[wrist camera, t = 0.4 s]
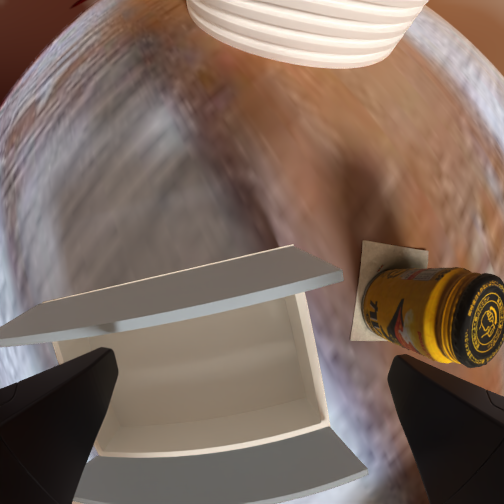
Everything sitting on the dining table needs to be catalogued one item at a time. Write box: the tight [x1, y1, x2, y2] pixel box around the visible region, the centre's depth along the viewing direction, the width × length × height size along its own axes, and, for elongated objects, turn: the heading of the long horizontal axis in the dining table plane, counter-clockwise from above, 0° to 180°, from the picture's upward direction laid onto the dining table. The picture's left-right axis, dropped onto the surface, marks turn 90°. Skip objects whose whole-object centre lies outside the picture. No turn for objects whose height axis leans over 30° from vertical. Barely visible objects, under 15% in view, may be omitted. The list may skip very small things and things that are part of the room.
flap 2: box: [73, 426, 368, 504], centre depth 12 cm, size 7×18×1 cm
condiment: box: [351, 240, 504, 368], centre depth 16 cm, size 7×8×12 cm
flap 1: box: [0, 246, 344, 347], centre depth 12 cm, size 7×18×1 cm
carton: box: [42, 244, 330, 458], centre depth 18 cm, size 13×18×5 cm
